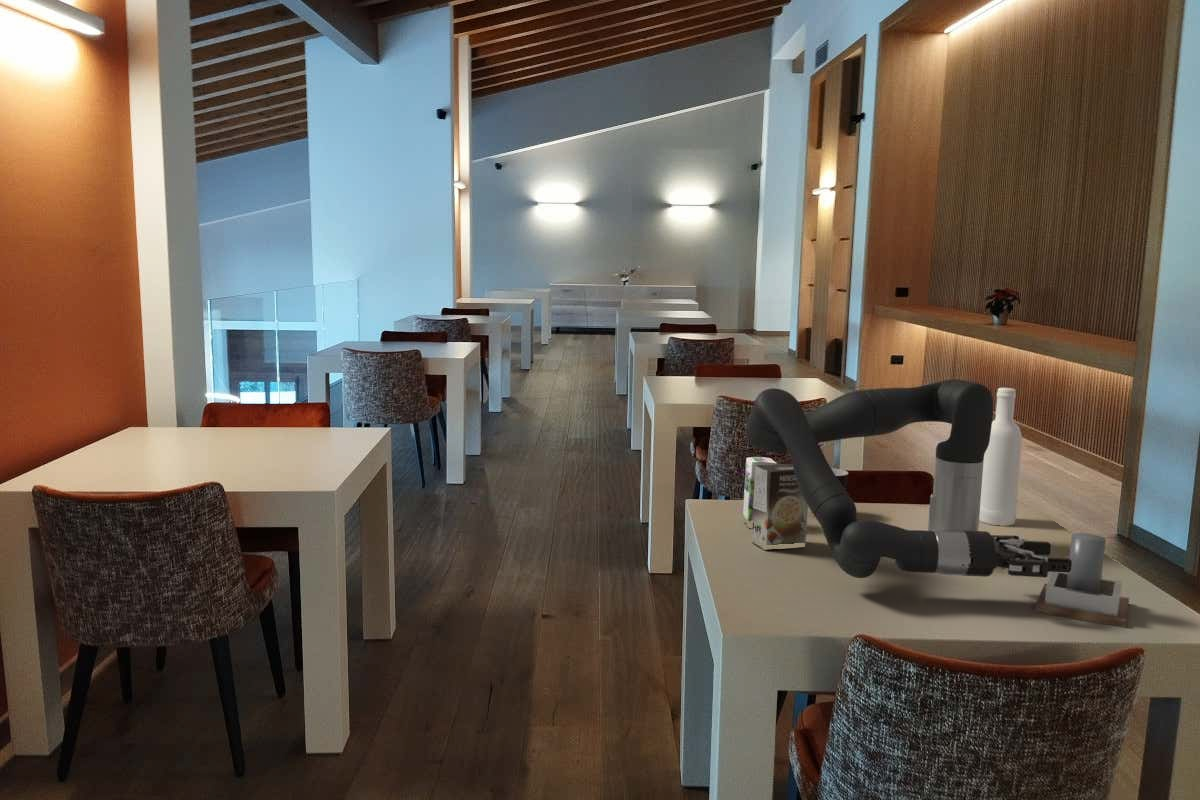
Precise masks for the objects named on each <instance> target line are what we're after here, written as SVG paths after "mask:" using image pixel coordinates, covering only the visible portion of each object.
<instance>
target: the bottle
mask: <svg viewBox="0 0 1200 800" xmlns="http://www.w3.org/2000/svg"><path fill="white" fill-rule="evenodd" d="M1016 392H1017V391H1016V389H1015V388H1012V387H999V388H997V392H996V406H995V407H996V408H995V409H996V410H995V419H994V420H992V427H991V434H990V441H989V445H988V448H987V450H986V452H985V454H984V463H983V475H982V489H981V502H980V515H979V520H980V521H982V522H985V523H988V524H987V525H989V524H992V525H991V526H996V525H1000V527H1010V525H1011V526H1014V525H1016V519H1017V505H1018V494H1019V493H1018V491H1019V481H1020V468H1021V467H1020V466H1021V458H1022V457H1021V453H1022V446H1023V445H1022V443H1023V436H1022V431H1021V428H1020V426H1019V425H1018V424H1017V423H1016V422H1015V421H1014V415H1015V402H1016V397H1017V394H1016ZM980 521H979V522H980ZM982 522H981V523H982ZM985 523H984V524H985Z"/></svg>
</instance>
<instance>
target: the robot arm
mask: <svg viewBox="0 0 1200 800" xmlns="http://www.w3.org/2000/svg"><path fill="white" fill-rule="evenodd" d="M994 409H995V407H994V397H993V395H992V392H991V391H990V389H989V388H988V387H987V386H986V385H984V384H982V383H979V382H974V381H969V380H964V379H957V378H956V379H955V378H953V379H951V378H950V379H946V380H942V381H935V382H933V383H928V384H925V385H919V386H914V387H885V388H869V389H860V390H855V391H850V392H847V393H844V394H842V395H840V396H838V397H836V398H834V399H832V400H831V401H829V402H827V403H826V404H823V405H821V406H819V407H817V408H816V409H814V410H811V411H808V412H804V409H803V408H802V405H801V404H800V402H799V401H798V400H797V398H796V397H795V396H794V395H793V394H791V393H790V392H788V391H787V390H785V389H781V388H767V389H764V390H761V392H760V393H759V394H758V395H757V397H756V398H755V400H754V402H753V405H752V408H751V411H750V414H749V416H748V419H747V423H746V426H745V434H744V435H745V438H746V441H747V443H748V444H750V446H752V447H753V448H754V449H757V450H760V451H762V452H768V453H777V452H778V453H779V452H784V451H787V452H788V455H789V458H790V460H791V464H793V468H794V472H795V476H796V480H797V483H798V486H799V489H800V492H801V494H802V496H803V498H804V500H805V502H806V503H807V505H808V509H809V510H810V512H811V514H812V513H813V514H814V516H813V517H815V519H816V520H817V521H818V523H819V525H820V526H821V530H822V532H823V534H824V538H825V540H826V542H827V546H828V547H829V550H830V552H831V555H832V557H833V558H834V560H835V563H836V564H837V565H838V566H839V568H840V569H842V571H843V572H845V574H847V575H849V576H850V577H854V578H857V579H865V578H868V577H870V576H871V575H873V574H875V572H876V570H877V568H878V566H879V564H880V560H881V558H887V559H893V560H894V561H895V563H896V566H897V567H898V569H900V570H901V571H905V572H907V573H924V574H925V573H929V574H939V575H944V576H961V577H962V576H963V577H965V576H966V577H985V578H986V577H990V576H991V575H992V574H993V572H994V570H995V569H996V568H997V567H999V568H1001V569H1003V570H1007V574H1008V575H1010V576H1015V577H1017V576H1018V577H1020V576H1021V577H1031V578H1032V577H1035V578H1036V577H1037V578H1048V573H1049V572H1050V573H1052V572H1067V573H1068V572H1070V571H1071V566H1072V561H1071V560H1070V559H1069V557H1052V556H1050V557H1049V555H1050V554H1051V550H1052V549H1051V548H1052V544H1051V543H1050V542H1048V541H1037V540H1035V541H1034V540H1027V539H1025V538H1020V536H1017V535H997V534H996V535H992V534H991V533H990V532H989V531H985V530H984V531H983V530H979V526H980V521H979V515H980V502H981V489H982V475H983V463H984V454H985V452H986V450H987V448H988V445H989V441H990V434H991V427H992V422H993V418H994ZM929 422H933V423H934V422H936V423H939V422H940V423H946V424H951V428H950V433H949V437H948V438H947V439H946V440H944V441H940V442H939V443H937V445H936V448H935V460H934V461H935V462H934V474H933V475H934V476H933V489H932V491H933V492H932V494H930V497H929V498H930V499H929V510H928V511H929V512H928V523H927V524H928V526H927V528H928V529H927V530H923V529H922V530H921V529H920V530H919V529H916V530H915V529H905V528H902V527H900V526H897V525H892V524H888V523H885V522H881V521H876V520H872V519H871V520H870V519H862V520H858V519H857V518H858V517H857V511H858V510H857V506H856V504H855V503H854V502H855V501H854V500H853V499H852V498H851V496H850V494H849V493H848V492H847V490H846V489H844V487H843V486H842V484H841V483H840V481H839V480H838V479H837V477H836V475H835V474H834V472H833V471H832V469H831V468H832V467H831V466H830V464H829V462H828V461H827V459H826V457H825V454H824V452H823V451H822V449H821V446H820V443H826V442H833V441H840V440H847V439H854V438H855V439H856V438H866V437H875V436H876V437H877V436H882V435H887V434H891V433H894V432H896V431H899V430H900V429H902V428H904V427H906V426H908V425H910V424H915V423H929ZM1046 556H1047V557H1046Z"/></svg>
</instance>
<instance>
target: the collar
mask: <svg viewBox="0 0 1200 800" xmlns="http://www.w3.org/2000/svg"><path fill="white" fill-rule="evenodd" d="M1050 574H1051V575H1050V577H1049V578H1048V582H1047V583H1046V584H1047V586H1046V596H1045V605H1051V606H1056V607H1062V608H1067V609H1073V610H1078V611H1084V612H1089V613H1095V614H1100V615H1106V616H1112V617H1117V616H1118V610H1119V604H1120V597H1122V594H1121V593H1122V584H1123V581H1122V580H1115V579H1110V578H1102V579H1101V588H1100V594H1096V593H1090V592H1084V591H1078V590H1072V589H1066V585H1067V575H1068V572H1051V573H1050Z"/></svg>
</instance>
